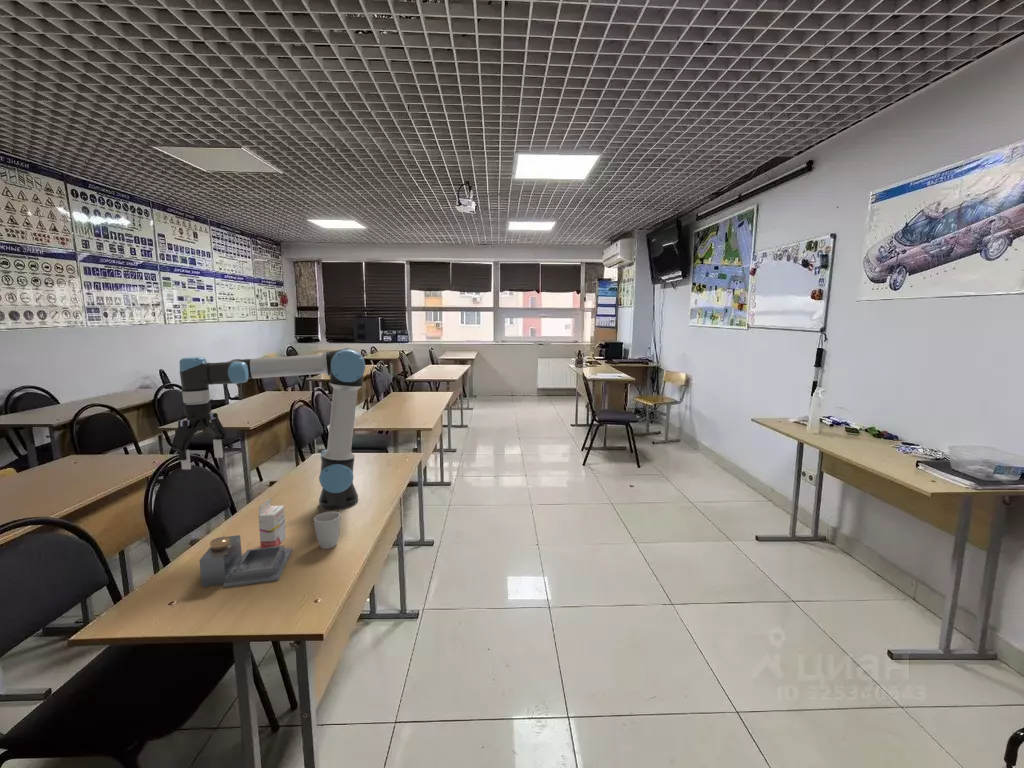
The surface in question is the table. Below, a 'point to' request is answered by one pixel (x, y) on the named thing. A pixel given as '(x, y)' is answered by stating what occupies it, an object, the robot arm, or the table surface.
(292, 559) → the table surface
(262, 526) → the ink cartridge box
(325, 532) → the cup
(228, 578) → the grey stepped base
